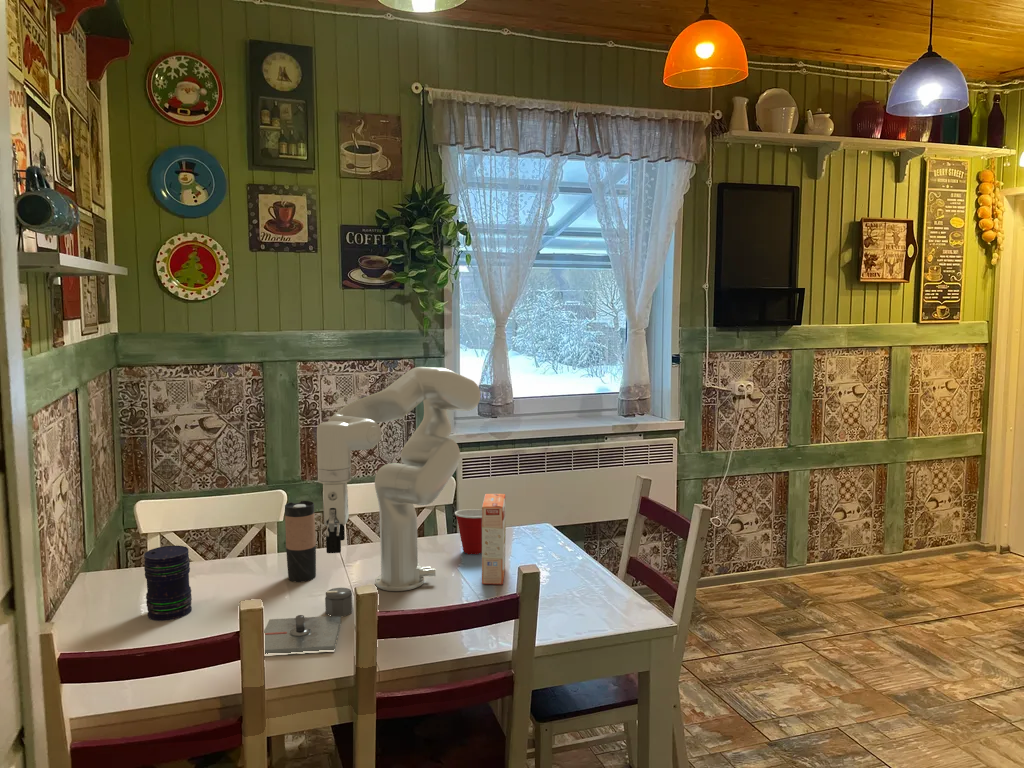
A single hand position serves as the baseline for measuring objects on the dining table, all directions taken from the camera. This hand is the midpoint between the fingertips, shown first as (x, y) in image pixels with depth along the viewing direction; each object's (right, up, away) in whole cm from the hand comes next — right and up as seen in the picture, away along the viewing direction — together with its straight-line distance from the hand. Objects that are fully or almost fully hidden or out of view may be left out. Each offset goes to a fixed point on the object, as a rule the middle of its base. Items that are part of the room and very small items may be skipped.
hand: (335, 546), depth 187 cm
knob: (0, -16, +2) cm, 16 cm away
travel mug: (-15, -14, +25) cm, 32 cm away
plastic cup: (+30, -11, +46) cm, 56 cm away
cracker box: (+37, -13, +26) cm, 47 cm away
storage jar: (-40, -17, +2) cm, 43 cm away
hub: (-5, -18, -12) cm, 22 cm away
